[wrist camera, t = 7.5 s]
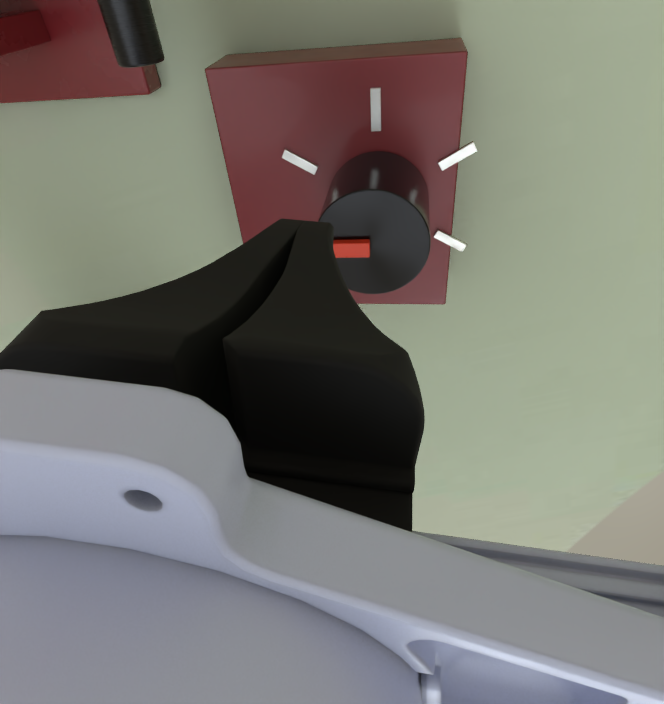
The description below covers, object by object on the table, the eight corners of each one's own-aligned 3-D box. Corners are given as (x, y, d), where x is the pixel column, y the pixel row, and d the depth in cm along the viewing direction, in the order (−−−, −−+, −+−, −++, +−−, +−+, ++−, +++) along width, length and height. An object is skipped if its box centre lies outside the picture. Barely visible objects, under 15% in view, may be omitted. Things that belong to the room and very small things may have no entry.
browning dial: (430, 148, 18) (433, 191, 15) (426, 246, 20) (428, 299, 17) (323, 152, 18) (305, 195, 15) (332, 247, 21) (318, 299, 18)
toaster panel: (456, 274, 24) (459, 307, 22) (268, 274, 25) (255, 304, 23) (480, 36, 17) (488, 50, 15) (226, 54, 19) (202, 69, 17)
